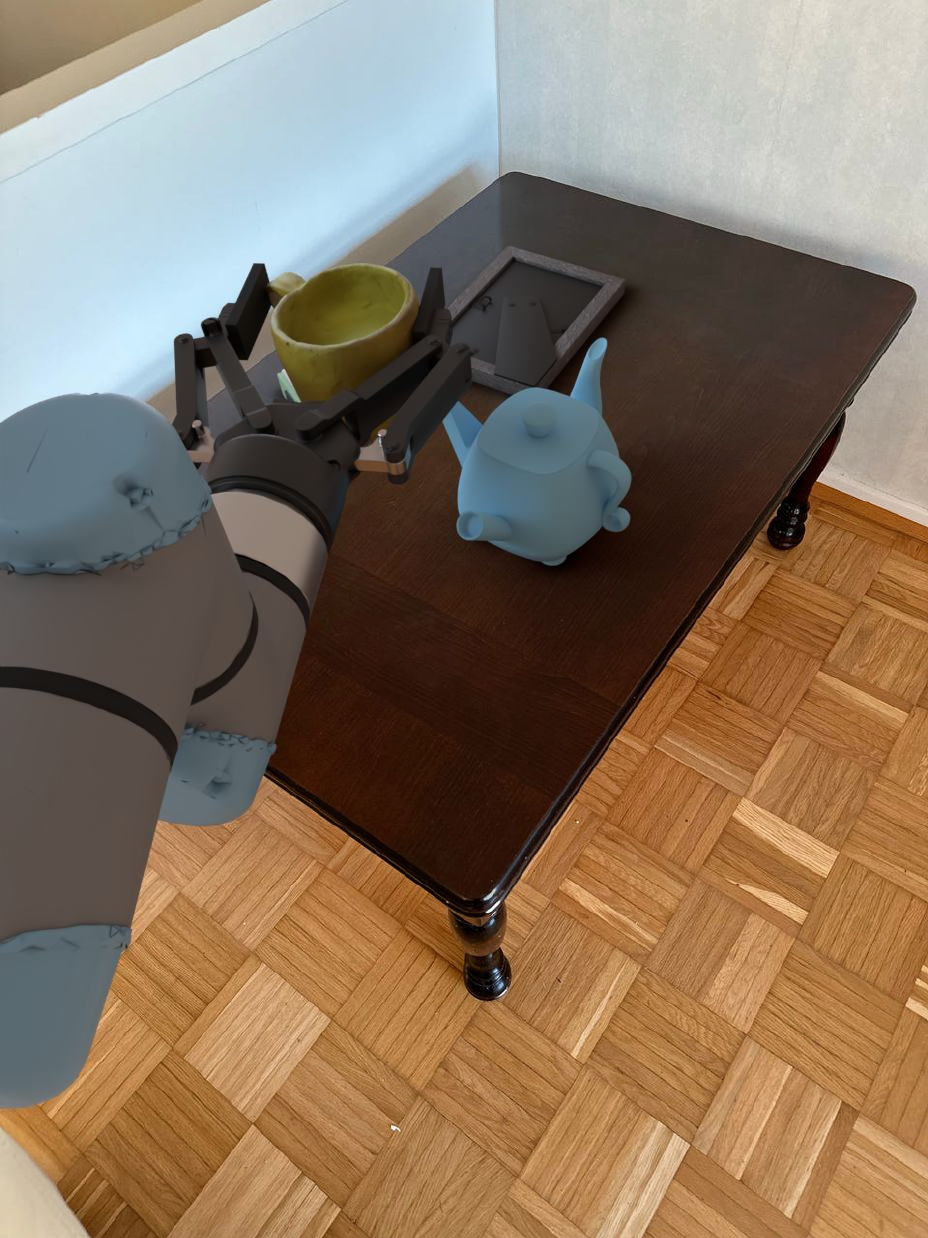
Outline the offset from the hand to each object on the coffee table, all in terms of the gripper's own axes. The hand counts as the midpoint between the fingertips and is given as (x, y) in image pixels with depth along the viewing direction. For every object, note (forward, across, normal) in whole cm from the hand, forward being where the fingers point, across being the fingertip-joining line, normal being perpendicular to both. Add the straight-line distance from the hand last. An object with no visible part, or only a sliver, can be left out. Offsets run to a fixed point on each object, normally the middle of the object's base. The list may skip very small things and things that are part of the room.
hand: (349, 283), depth 60 cm
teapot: (-2, +12, -20) cm, 24 cm away
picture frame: (+22, +9, -20) cm, 31 cm away
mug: (-4, 0, -6) cm, 7 cm away
